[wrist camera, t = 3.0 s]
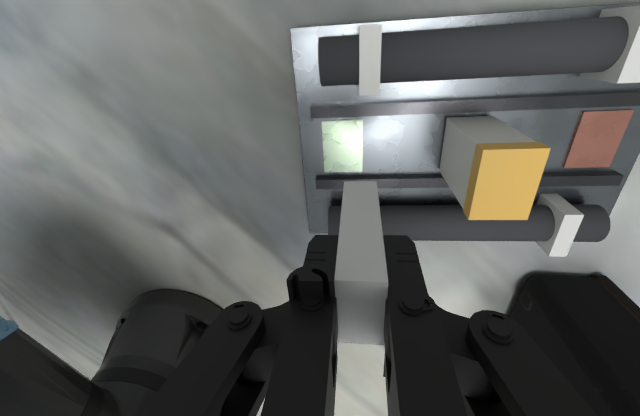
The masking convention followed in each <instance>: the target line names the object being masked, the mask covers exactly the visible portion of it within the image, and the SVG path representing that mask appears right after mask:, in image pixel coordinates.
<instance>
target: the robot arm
mask: <svg viewBox="0 0 640 416" xmlns="http://www.w3.org/2000/svg"><path fill="white" fill-rule="evenodd" d="M287 287H288V293H289V299H290V300H289V301H288V302H286V303H284V304H282V305H280V306H277V307H273V308H268V309H264V310H261V308H260V307H259V306H258V305H257V304H255V303H253V302H249V301H241V302H237V303H234V304H232V305H230V306H228V307H226V308H225V309H224V310H222V309H220V308H219V307H217V306H216V305H214V304H213V303H211V302H209V301H207V300H205V299H203V298H201V297H198V296H196V295H193V294H190V293H186V292H182V291H176V290H155V291H150V292H147V293H144V294H142V295H140V296H138V297H137V298H136V299H135V300H134V301H133V302H132V303H131V304H130V305H129V307H128V308H127V309H126V310H125V311H124V313H123V314H122V315H121V317H120V319H119V321H118V323H117V326H116V330H115V332H114V334H113V336H112V339H111V341H110V344H109V346H108V349H107V351H106V354H105V357H104V359H103V362H102V364H101V367H100V369H99V370H98V372H97V373H96V374H95V376H94V377H93V378H92V380H91V381H90V380H89V379H88V378H87V377H85V376H84V375H82V374H81V373H80V372H78V371H77V370H76V369H74V368H73V367H71V366H70V365H69V364H67V363H66V362H65V361H63V360H62V359H60V358H59V357H58V356H56V355H55V354H53V353H52V352H51V351H49V350H48V349H47V348H45V347H44V346H42V345H41V344H40V343H38V342H37V341H36V340H34V339H33V338H31V337H30V336H29V335H27V334H26V333H25V332H23V331H22V330H20V329H19V328H18V327H19V326H18V325H17V324H16V323H15V322H14V321H10V320H9V321H7V320H5V319H4V318H2V317H0V416H256V415H257V413H258V411H259V408H260V406H261V404H262V402H263V400H264V398H265V401H264V405H263V409H262V413H261V416H334V406H335V390H336V374H337V342H340V343H357V344H374V345H384V342H385V361H384V374H383V377H386V390H387V404H388V416H597V414H596V413H595V412H594V411H593V410H592V409H591V407H590V406H589V405H588V404H587V403H586V401H585V400H584V399H583V398H582V397H581V396H580V394H579V393H578V392H577V391H576V390H575V389H574V387H573V386H572V385H571V384H570V383H569V381H568V380H567V379H566V378H565V377H564V376H563V374H562V373H561V372H560V371H559V370H558V368H557V367H556V366H555V365H554V364H553V363H552V361H551V360H550V359H549V358H548V357H547V356H546V354H545V353H544V352H543V351H542V350H541V348H540V347H539V346H538V345H537V344H536V343H535V341H534V340H533V339H532V338H531V337H530V336H529V334H528V333H527V332H526V331H525V330H524V328H523V327H522V326H521V325H519V324H518V323H517V322H516V321H515V320H514V319H512V318H510V317H508V316H507V315H505V314H503V313H499V312H496V311H489V310H482V311H479V312H476V313H474V314H473V315H472V317H471V318H470V319H469V318H466V317H463V316H459V315H456V314H453V313H450V312H447V311H445V310H443V309H442V308H440V307H439V306H437V305H436V304H435V302H434V300H433V299H432V298H431V297H429V295H428V292H427V289H426V285H425V281H424V277H423V274H422V270H421V266H420V263H419V258H418V255H417V251H416V247H415V243H414V242H413V241H412V240H411V239H410V238H409V237H408V236H407V235H383V232H382V224H381V215H380V207H379V198H378V190H377V181H344V188H343V198H342V208H341V218H340V228H339V235H315V236H314V238H313V239H312V240H311V241H310V242H309V244H308V248H307V253H306V257H305V261H304V265H303V267H300V268H298V269H296V270H294V271H293V272H292V273H291V274H290V275H289V277H288V278H287ZM265 396H266V397H265Z"/></svg>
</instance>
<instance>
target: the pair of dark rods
mask: <svg viewBox="0 0 640 416" xmlns="http://www.w3.org/2000/svg"><path fill="white" fill-rule="evenodd" d="M318 64H319V76H320V83H321V86H339V85H359V96H363V95H380V83H398V82H417V81H437V80H456V79H476V78H495V77H515V76H534V75H554V74H573V73H580V76H579V77H585V78H590V79H595V80H601V81H606V82H611V83H617V84H618V83H639V82H640V6H631V7H621V8H611V9H602V10H601V13H600V16H599V18H585V19H571V20H557V21H543V22H529V23H514V24H500V25H486V26H472V27H457V28H443V29H429V30H415V31H401V32H386V33H382V24H379V25H366V26H359V34H358V35H344V36H329V37H319V40H318ZM379 207H380V215H381V224H382V232H383V235H407V236H408V237H409V238H410V239H411V240H431V241H536V242H537V244H538V245H539V246H540V247H541V248H542V249H543V250H544V252H545V253H546V254H547V255H548V256H554V257H566V256H567V254H568V252H569V249H570V247H571V245H572V242H599V241H602V240H603V239H605V238H606V236H607V235H608V233H609V230H610V218H609V215H608V213H607V211H606V210H605V209H604V208H603V207H602V206H600V205H596V204H573V205H571V204H570V203H569V202H567V201H566V200H565V199H563V198H562V197H561V196H560V195H558V194H540V196H539V199H538V202H537V205H532V208H531V211H530V214H529V217H528V220H468V219H467V217H466V215H465V214H464V212H463V208H462V206H461V205H391V206H379ZM341 208H342V206H329V209H328V235H339V228H340V218H341Z"/></svg>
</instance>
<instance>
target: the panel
mask: <svg viewBox="0 0 640 416" xmlns="http://www.w3.org/2000/svg"><path fill="white" fill-rule="evenodd" d="M631 6H640V3H627V4H613V5H600V6H587V7H573V8H560V9H546V10H533V11H519V12H506V13H493V14H479V15H466V16H452V17H439V18H425V19H412V20H399V21H385V22H372V23H358V24H345V25H331V26H318V27H304V28H291V29H290V31H291V41H292V52H293V63H294V73H295V84H296V94H297V105H298V115H299V126H300V137H301V147H302V158H303V168H304V179H305V190H306V200H307V211H308V221H309V232H310V233H328V209H329V206H342V198H343V188H344V181H377V190H378V198H379V206H391V205H460V203H459V202H458V200H457V198H456V197H455V195H454V194H453V192H452V190H451V189H450V187H449V186H448V184H447V182H446V181H445V179H444V177H443V176H442V174H441V173H440V171H439V169H440V162H441V155H442V148H443V141H444V134H445V127H446V121H447V117H471V116H494V117H496V118H497V119H499V120H501V121H502V122H504V123H506V124H507V125H509V126H511V127H513V128H514V129H516V130H518V131H519V132H521V133H523V134H524V135H526V136H528V137H530V138H531V139H533V140H535V141H536V142H541V143H543V144H545V145H546V146H548V147H550V148H551V149H550V152H549V156H548V159H547V162H546V165H545V168H544V171H543V174H542V177H541V180H540V183H539V186H538V189H537V192H536V195H535V199H534V202H533V205H537V202H538V199H539V196H540V194H558V195H560V196H561V197H562V198H563V199H565V200H566V201H567V202H569V203H570V204H571V205H573V204H596V205H600V206H602V207H603V208H604V209H605V210H606V211H607V213H608V215H610V213H611V211H612V209H613V207H614V205H615V203H616V201H617V199H618V197H619V195H620V192H621V190H622V188H623V186H624V184H625V182H626V180H627V178H628V176H629V174H630V172H631V170H632V167H633V165H634V163H635V161H636V159H637V157H638V155H639V153H640V82H639V83H618V84H617V83H611V82H606V81H601V80H595V79H590V78H585V77H579V76H580V73H573V74H554V75H534V76H515V77H495V78H476V79H456V80H437V81H417V82H398V83H380V95H363V96H359V85H339V86H321V83H320V76H319V64H318V40H319V37H329V36H344V35H358V34H359V26H366V25H379V24H382V33H386V32H401V31H415V30H429V29H443V28H457V27H472V26H486V25H500V24H514V23H529V22H543V21H557V20H571V19H585V18H599V16H600V13H601V10H602V9H611V8H621V7H631Z"/></svg>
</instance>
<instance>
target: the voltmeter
mask: <svg viewBox="0 0 640 416" xmlns="http://www.w3.org/2000/svg"><path fill="white" fill-rule="evenodd" d="M510 318H512V319H514V320H515V321H516V322H517V323H518V324H519V325H521V326H522V327H523V328H524V330H525V331H526V332H527V333H528V334H529V336H530V337H531V338H532V339H533V340H534V341H535V343H536V344H537V345H538V346H539V347H540V348H541V350H542V351H543V352H544V353H545V354H546V356H547V357H548V358H549V359H550V360H551V361H552V363H553V364H554V365H555V366H556V367H557V368H558V370H559V371H560V372H561V373H562V374H563V376H564V377H565V378H566V379H567V380H568V381H569V383H570V384H571V385H572V386H573V387H574V389H575V390H576V391H577V392H578V393H579V394H580V396H581V397H582V398H583V399H584V400H585V401H586V403H587V404H588V405H589V406H590V407H591V409H592V410H593V411H594V412H595V413H596V414H597V416H640V308H639V307H638V306H637V305H636V304H635V303H634V302H633V301H632V300H631V299H630V298H629V297H628V296H627V295H626V294H625V293H624V292H623V291H622V290H621V289H620V288H619V287H617V286H616V285H615V284H614V283H613V282H612V281H611V280H610V279H609V278H608V277H606V276H604V275H593V276H591V278H583V277H564V276H546V275H535V276H532V277H530V278H529V279H528V280H527V281H526V283H525V284H524V286H523V289H522V291H521V293H520V296H519V298H518V300H517V302H516V305H515V307H514V309H513V311H512V314H511V316H510Z"/></svg>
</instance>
